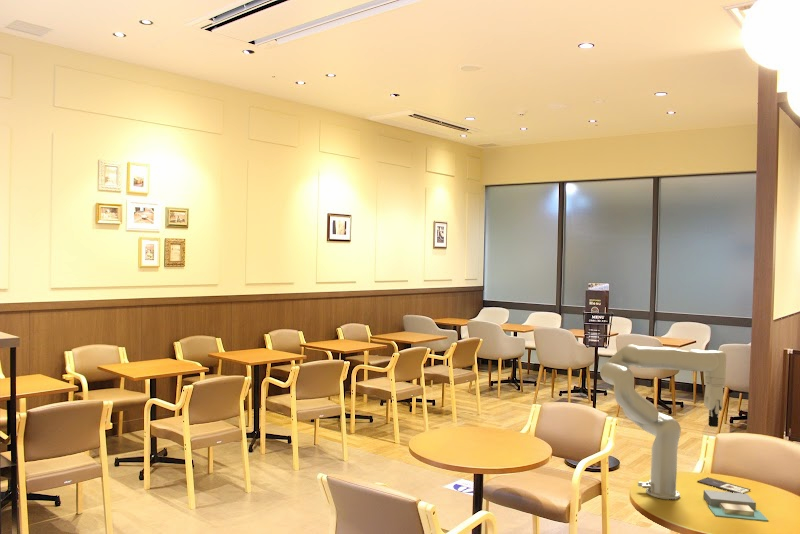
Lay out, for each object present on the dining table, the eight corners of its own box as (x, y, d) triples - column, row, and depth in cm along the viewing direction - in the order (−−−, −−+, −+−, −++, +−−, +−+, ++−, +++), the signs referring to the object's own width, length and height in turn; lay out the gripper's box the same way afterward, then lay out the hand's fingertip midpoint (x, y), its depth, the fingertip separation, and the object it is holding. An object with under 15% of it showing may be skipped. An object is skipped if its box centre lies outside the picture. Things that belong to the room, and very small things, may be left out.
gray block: (710, 506, 253) (710, 498, 253) (703, 497, 263) (703, 489, 263) (755, 510, 250) (755, 502, 250) (746, 501, 260) (747, 493, 260)
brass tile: (725, 513, 245) (725, 508, 245) (719, 506, 252) (719, 502, 252) (754, 515, 244) (754, 511, 244) (747, 508, 251) (747, 504, 251)
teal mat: (715, 516, 243) (715, 515, 243) (707, 506, 253) (707, 505, 253) (768, 521, 240) (768, 520, 240) (758, 511, 250) (758, 510, 250)
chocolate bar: (707, 477, 287) (750, 489, 273) (707, 479, 287) (750, 491, 273) (697, 480, 282) (740, 493, 268) (697, 483, 282) (740, 495, 268)
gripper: (700, 377, 277) (698, 421, 277) (710, 383, 262) (708, 430, 262) (719, 378, 275) (717, 422, 275) (730, 385, 260) (728, 431, 261)
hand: (713, 426), depth 269 cm, fingers closed
